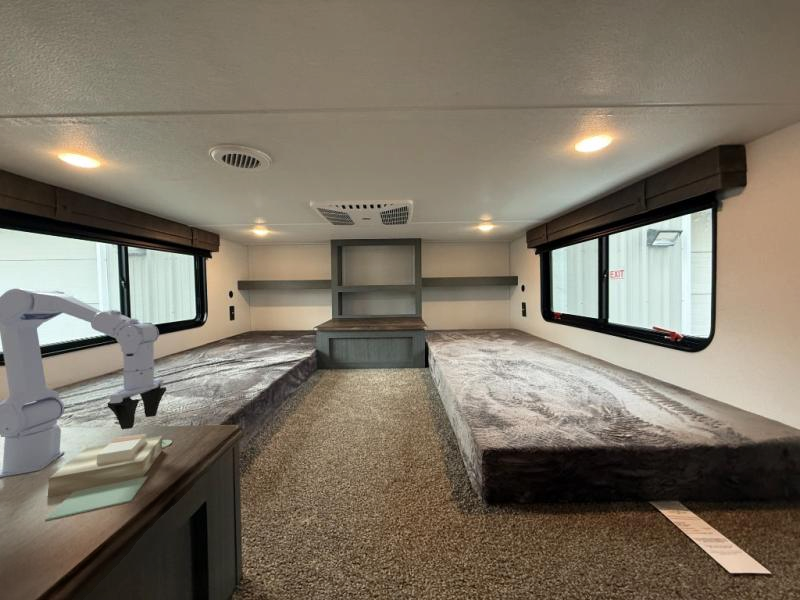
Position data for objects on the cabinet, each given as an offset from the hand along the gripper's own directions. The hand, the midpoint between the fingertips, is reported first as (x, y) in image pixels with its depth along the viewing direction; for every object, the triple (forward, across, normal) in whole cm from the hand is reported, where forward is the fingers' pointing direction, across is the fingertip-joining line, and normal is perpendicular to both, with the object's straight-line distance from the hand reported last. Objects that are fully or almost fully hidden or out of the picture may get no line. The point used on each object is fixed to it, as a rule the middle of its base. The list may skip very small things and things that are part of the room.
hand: (139, 422), depth 71 cm
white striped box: (+6, -2, +2) cm, 7 cm away
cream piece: (+10, -3, +3) cm, 11 cm away
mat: (+10, -14, -3) cm, 17 cm away
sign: (+11, +12, -2) cm, 17 cm away
